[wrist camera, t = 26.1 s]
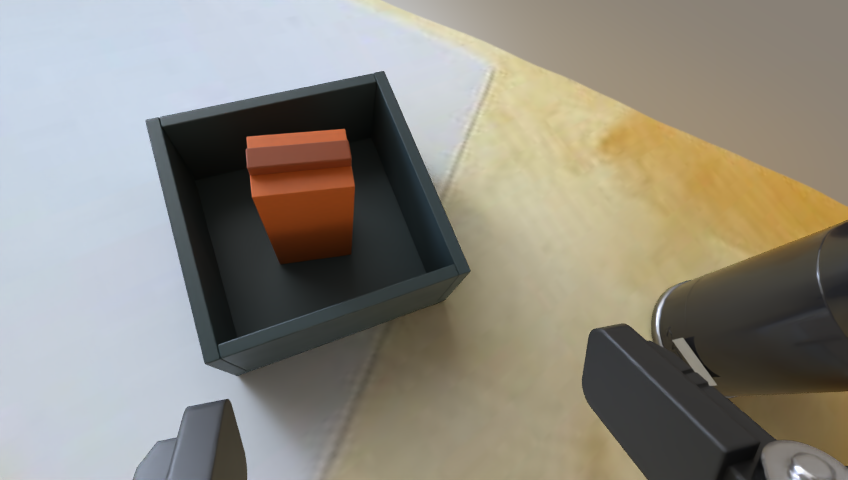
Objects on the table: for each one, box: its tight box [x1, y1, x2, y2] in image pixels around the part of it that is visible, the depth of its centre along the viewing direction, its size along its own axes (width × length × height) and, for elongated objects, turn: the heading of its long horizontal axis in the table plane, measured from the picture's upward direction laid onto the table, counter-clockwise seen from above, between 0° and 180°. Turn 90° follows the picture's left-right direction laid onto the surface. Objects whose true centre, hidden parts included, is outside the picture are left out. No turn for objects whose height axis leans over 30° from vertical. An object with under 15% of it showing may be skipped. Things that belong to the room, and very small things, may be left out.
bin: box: [146, 71, 471, 376], centre depth 32 cm, size 16×16×8 cm
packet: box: [245, 129, 355, 264], centre depth 29 cm, size 5×4×12 cm
